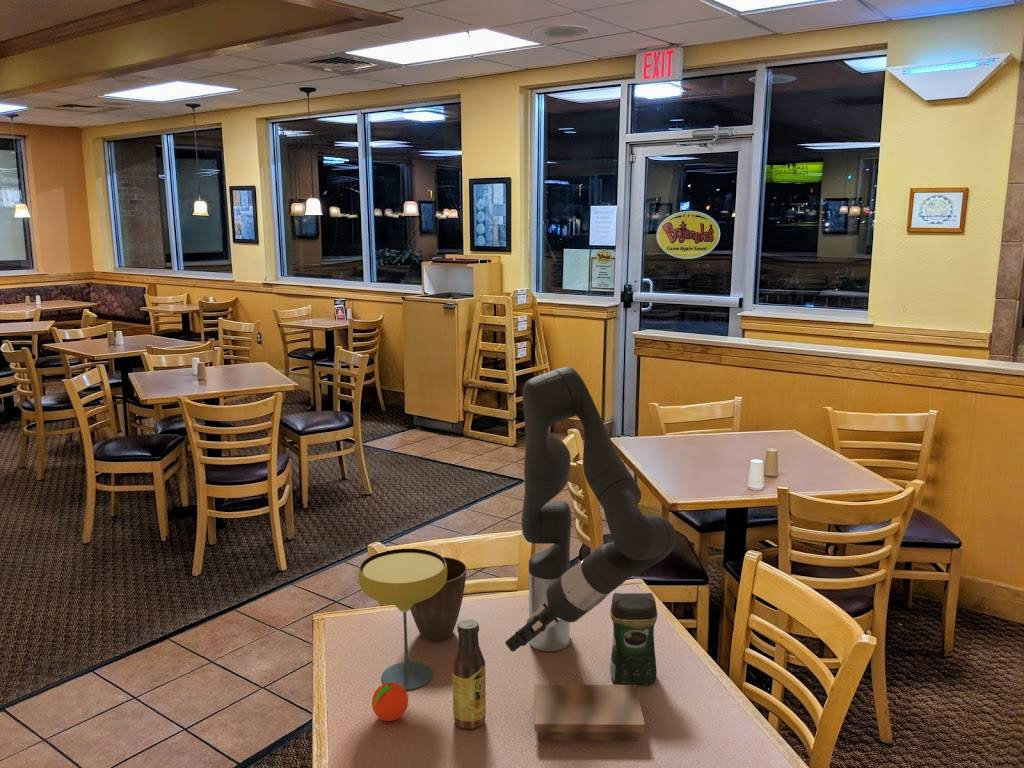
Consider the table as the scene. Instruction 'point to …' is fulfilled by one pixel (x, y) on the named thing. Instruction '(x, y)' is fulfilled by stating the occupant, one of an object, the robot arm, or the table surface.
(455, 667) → the sauce bottle
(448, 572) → the plant pot
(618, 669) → the coffee jar
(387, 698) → the clementine
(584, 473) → the robot arm
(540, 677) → the table surface
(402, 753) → the table surface
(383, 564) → the cocktail glass
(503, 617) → the table surface
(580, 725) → the walnut shelf
